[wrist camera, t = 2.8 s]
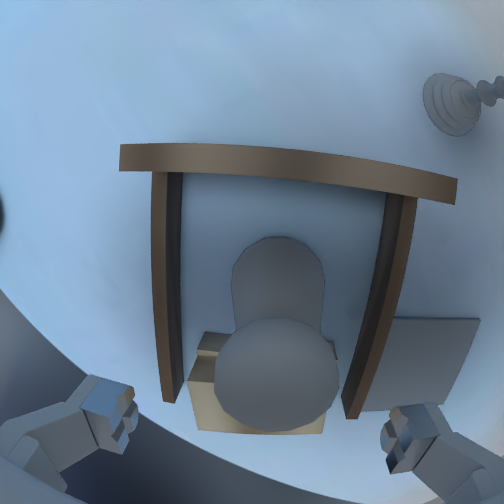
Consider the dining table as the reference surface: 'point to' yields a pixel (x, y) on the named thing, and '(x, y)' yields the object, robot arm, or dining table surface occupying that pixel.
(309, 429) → the offcut upper
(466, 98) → the chalice
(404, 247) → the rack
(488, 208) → the dining table surface
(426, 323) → the slate mat
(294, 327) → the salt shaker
